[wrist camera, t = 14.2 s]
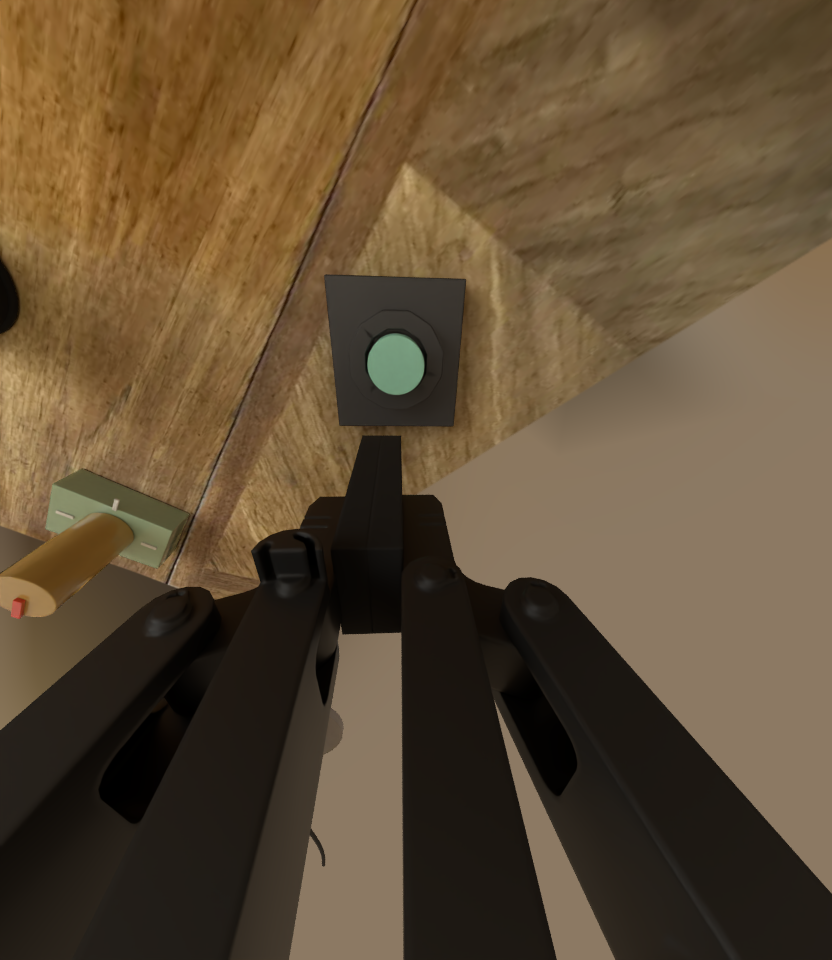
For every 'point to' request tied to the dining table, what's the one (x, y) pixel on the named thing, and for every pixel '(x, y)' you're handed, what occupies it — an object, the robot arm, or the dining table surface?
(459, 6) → the dining table surface
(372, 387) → the button base
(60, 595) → the dial
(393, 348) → the round green button
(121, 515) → the dial panel
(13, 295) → the aerosol can
